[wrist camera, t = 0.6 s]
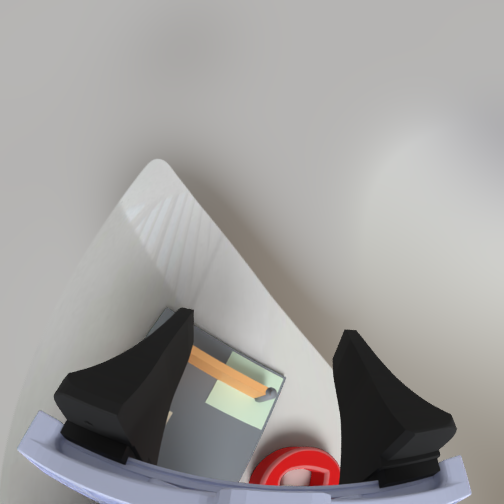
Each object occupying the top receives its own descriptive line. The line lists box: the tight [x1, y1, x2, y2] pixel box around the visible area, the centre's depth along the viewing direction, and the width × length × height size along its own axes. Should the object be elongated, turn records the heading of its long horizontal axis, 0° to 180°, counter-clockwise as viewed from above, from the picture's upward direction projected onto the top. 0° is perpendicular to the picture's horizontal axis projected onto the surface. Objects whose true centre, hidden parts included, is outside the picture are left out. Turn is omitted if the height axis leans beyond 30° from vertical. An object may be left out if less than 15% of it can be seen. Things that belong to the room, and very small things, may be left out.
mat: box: [144, 308, 286, 482], centre depth 23 cm, size 16×15×1 cm
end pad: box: [205, 351, 283, 430], centre depth 26 cm, size 6×6×1 cm
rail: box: [188, 345, 277, 402], centre depth 22 cm, size 11×11×3 cm
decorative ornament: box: [249, 447, 340, 486], centre depth 20 cm, size 10×10×3 cm
